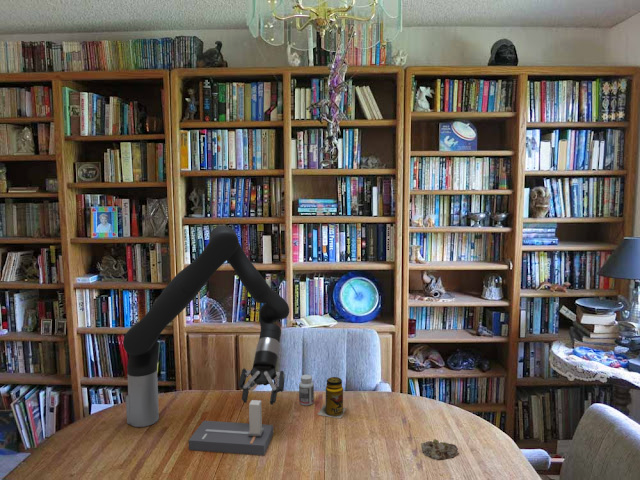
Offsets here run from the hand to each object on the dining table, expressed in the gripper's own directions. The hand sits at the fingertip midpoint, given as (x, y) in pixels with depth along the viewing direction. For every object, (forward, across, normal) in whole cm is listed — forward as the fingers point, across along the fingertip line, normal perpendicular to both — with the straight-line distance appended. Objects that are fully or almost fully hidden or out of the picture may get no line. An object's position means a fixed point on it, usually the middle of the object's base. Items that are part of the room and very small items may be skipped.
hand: (258, 403), depth 144 cm
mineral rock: (+9, +55, +8) cm, 56 cm away
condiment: (-6, +21, +22) cm, 31 cm away
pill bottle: (-10, +11, +26) cm, 30 cm away
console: (+10, -7, +6) cm, 14 cm away
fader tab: (+8, 0, +3) cm, 9 cm away
